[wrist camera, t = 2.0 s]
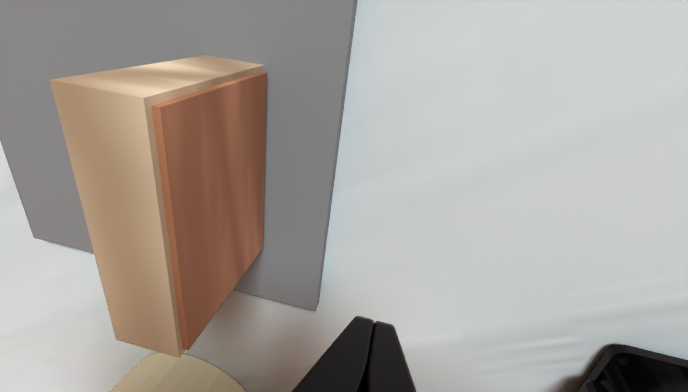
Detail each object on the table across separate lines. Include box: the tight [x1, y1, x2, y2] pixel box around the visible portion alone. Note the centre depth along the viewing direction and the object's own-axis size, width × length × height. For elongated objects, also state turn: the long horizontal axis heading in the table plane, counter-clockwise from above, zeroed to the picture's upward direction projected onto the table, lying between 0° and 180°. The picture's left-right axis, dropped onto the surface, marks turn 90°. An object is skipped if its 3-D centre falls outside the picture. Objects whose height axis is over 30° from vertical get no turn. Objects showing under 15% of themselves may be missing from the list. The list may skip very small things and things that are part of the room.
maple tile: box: [50, 55, 267, 358], centre depth 12 cm, size 2×8×6 cm, turn 172°
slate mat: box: [0, 0, 357, 311], centre depth 15 cm, size 16×14×1 cm
